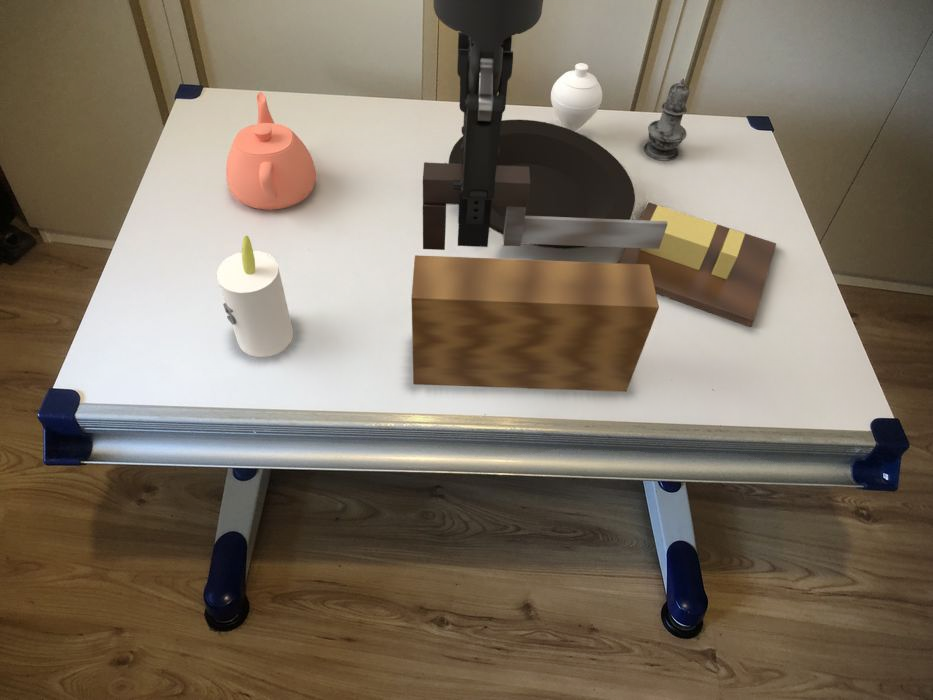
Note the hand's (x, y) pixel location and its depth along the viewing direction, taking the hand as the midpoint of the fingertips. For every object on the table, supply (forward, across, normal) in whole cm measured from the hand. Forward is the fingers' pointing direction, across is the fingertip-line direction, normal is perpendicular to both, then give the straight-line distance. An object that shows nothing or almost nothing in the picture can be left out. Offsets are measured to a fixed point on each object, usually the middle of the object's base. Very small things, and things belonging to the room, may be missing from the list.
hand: (472, 231), depth 63 cm
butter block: (+19, -20, +28) cm, 39 cm away
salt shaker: (+20, -44, +30) cm, 58 cm away
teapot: (+20, -32, -27) cm, 47 cm away
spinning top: (+20, -47, +16) cm, 53 cm away
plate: (+20, -29, +10) cm, 36 cm away
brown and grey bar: (+1, 0, +7) cm, 7 cm away
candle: (+20, -4, -23) cm, 31 cm away
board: (+20, -19, +31) cm, 41 cm away
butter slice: (+19, -18, +34) cm, 42 cm away
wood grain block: (+20, 0, +6) cm, 21 cm away
